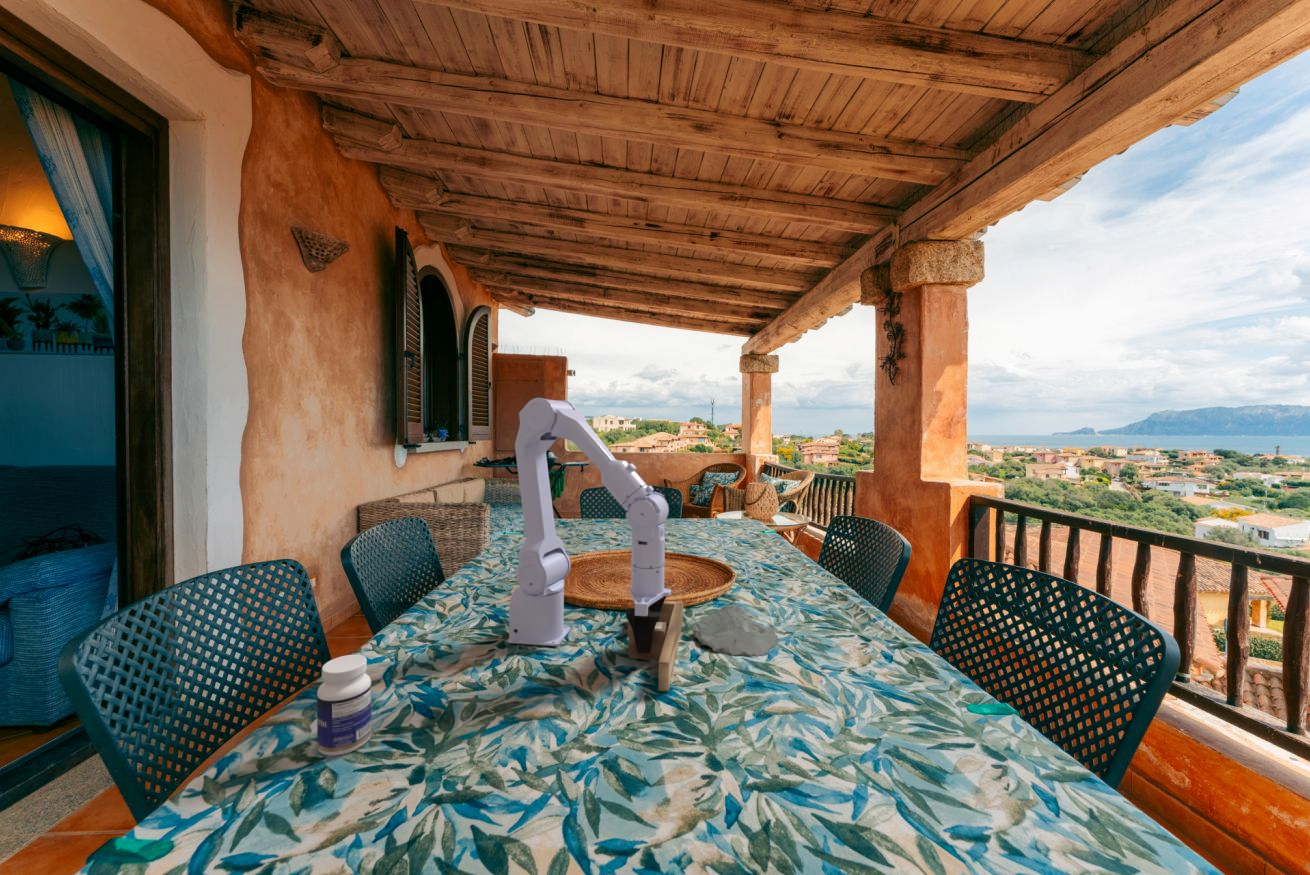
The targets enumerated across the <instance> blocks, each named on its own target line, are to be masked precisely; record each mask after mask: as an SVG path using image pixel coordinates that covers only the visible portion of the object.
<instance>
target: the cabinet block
mask: <svg viewBox="0 0 1310 875" xmlns="http://www.w3.org/2000/svg"><path fill="white" fill-rule="evenodd" d="M667 624H668V623H667V622H657V623H656V626H655V630H654V635H653V642H652V647H651V651H650V653H649V654H648V653H638V652H637V649H636V645H635V639H634V634H633V631H632V628H631V625H630V628H629V636H628V659H640V660H651V661H654V660H655V661H659V659H660V656H661V652H662V648H663V645H664V641H665V637H666V634H667Z"/></svg>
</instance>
